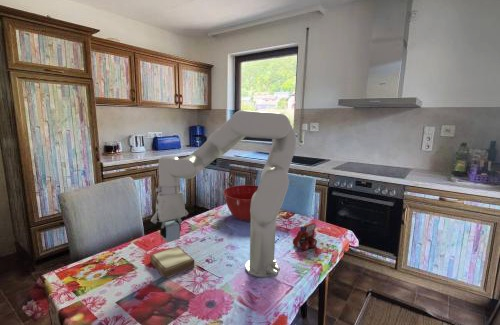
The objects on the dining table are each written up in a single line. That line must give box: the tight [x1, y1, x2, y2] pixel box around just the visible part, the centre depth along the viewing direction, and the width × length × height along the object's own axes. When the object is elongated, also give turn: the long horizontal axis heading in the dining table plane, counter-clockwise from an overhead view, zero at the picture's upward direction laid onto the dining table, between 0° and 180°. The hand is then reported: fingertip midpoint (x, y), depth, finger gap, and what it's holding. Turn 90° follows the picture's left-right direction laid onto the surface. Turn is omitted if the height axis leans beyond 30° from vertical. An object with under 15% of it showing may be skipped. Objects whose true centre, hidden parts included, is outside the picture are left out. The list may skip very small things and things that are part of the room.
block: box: [161, 219, 181, 243], centre depth 101 cm, size 5×5×6 cm
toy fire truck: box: [292, 222, 318, 251], centre depth 120 cm, size 7×12×10 cm, turn 128°
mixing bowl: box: [222, 184, 259, 222], centre depth 154 cm, size 28×28×15 cm
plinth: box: [149, 245, 195, 279], centre depth 104 cm, size 14×12×3 cm
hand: (170, 234), depth 102 cm, fingers closed on block, 4 cm apart
